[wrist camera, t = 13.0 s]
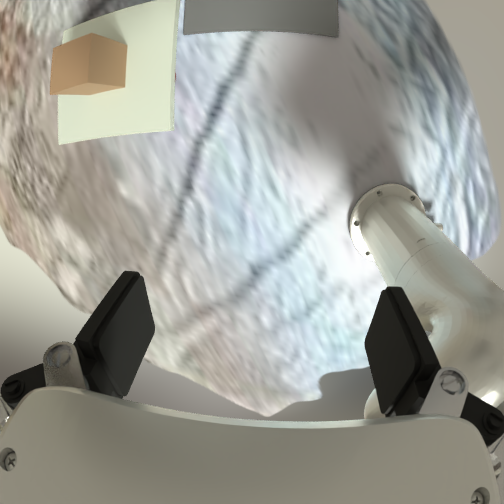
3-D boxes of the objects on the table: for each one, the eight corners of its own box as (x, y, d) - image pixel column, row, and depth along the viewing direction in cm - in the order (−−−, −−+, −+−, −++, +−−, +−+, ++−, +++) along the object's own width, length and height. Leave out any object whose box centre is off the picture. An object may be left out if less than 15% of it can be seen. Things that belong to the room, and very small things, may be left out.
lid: (180, -1, 18) (150, -30, 12) (174, 130, 24) (138, 133, 18) (69, 32, 20) (28, 23, 13) (64, 143, 26) (20, 154, 19)
